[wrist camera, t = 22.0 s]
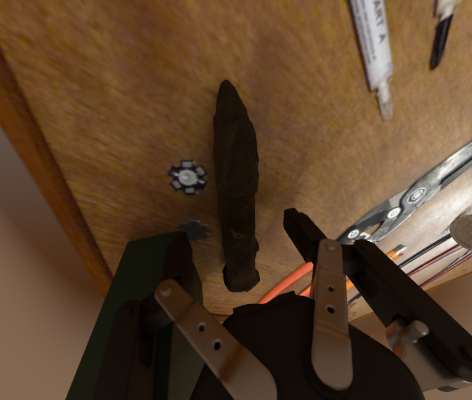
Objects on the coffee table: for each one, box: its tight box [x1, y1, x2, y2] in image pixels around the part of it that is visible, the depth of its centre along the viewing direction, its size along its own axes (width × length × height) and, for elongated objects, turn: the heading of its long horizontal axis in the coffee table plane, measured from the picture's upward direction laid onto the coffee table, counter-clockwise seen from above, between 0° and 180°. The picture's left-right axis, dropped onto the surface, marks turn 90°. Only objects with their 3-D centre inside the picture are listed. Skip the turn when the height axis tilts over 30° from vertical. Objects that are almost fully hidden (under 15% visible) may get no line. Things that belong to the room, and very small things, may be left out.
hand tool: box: [213, 80, 260, 292], centre depth 15 cm, size 19×4×5 cm, turn 1°
